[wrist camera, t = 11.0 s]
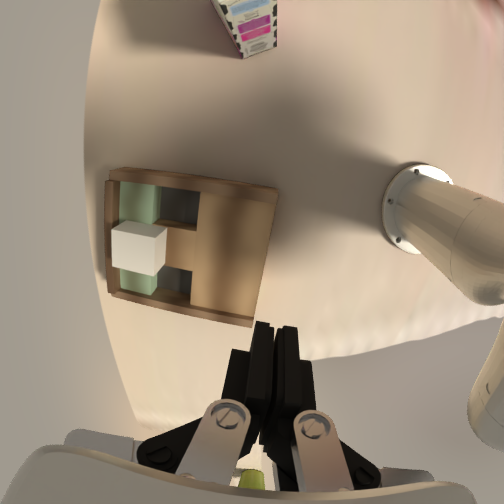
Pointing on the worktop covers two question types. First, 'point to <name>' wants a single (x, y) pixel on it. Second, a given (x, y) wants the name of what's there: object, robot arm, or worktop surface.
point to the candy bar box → (249, 24)
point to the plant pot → (252, 480)
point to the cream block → (139, 247)
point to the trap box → (193, 241)
